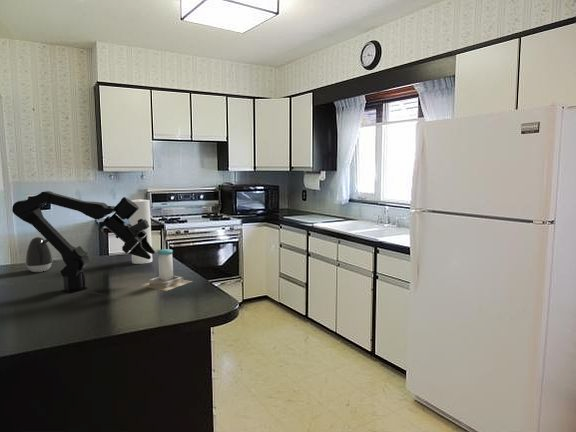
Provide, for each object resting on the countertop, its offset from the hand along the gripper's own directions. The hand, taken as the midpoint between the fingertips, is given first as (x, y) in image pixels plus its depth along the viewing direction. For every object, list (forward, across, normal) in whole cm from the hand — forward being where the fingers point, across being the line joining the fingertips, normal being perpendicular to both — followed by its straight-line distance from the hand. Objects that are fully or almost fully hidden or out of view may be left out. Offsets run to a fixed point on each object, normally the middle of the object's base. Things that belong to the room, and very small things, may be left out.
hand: (152, 255), depth 157 cm
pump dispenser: (-30, +33, +46) cm, 64 cm away
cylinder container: (0, +43, +17) cm, 46 cm away
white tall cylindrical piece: (+11, 0, +5) cm, 12 cm away
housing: (+12, 0, +5) cm, 13 cm away
